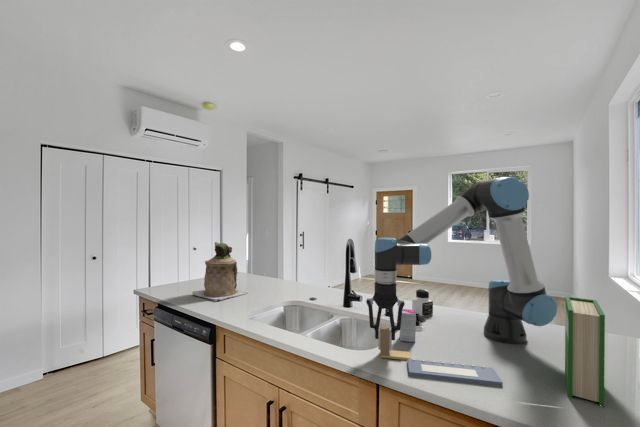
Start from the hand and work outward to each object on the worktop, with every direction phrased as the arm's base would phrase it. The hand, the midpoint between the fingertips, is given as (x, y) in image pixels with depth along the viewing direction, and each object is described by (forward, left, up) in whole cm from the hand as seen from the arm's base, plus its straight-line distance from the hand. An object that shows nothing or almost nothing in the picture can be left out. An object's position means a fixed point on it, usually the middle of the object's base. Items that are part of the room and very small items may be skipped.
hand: (384, 348), depth 111 cm
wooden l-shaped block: (-3, 0, -2) cm, 4 cm away
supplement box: (-8, -16, -3) cm, 18 cm away
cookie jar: (+99, -61, -3) cm, 116 cm away
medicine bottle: (-17, -51, -3) cm, 54 cm away
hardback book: (-56, +8, -3) cm, 57 cm away
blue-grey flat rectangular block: (-20, +9, -3) cm, 22 cm away
